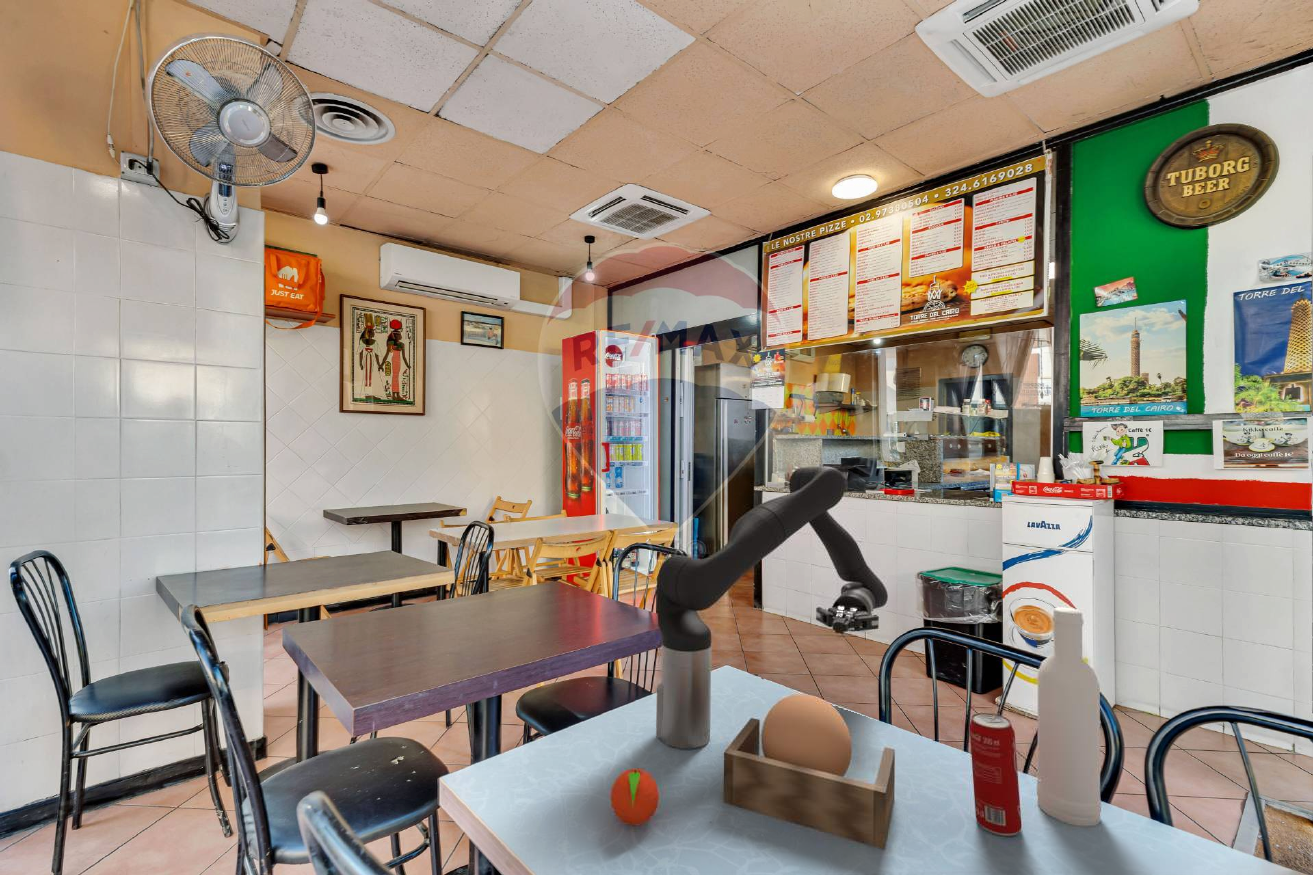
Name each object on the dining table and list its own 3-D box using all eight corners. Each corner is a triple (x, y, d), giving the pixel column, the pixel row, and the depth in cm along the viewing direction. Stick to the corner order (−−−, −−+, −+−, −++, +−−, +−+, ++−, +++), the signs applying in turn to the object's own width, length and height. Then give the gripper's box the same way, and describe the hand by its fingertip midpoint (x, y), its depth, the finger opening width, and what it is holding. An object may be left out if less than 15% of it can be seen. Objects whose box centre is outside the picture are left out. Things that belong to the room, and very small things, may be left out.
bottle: (1042, 819, 88) (1042, 613, 89) (1031, 791, 95) (1031, 601, 96) (1108, 833, 85) (1107, 619, 85) (1092, 803, 92) (1092, 606, 93)
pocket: (723, 802, 91) (723, 752, 91) (750, 762, 103) (751, 717, 103) (885, 849, 80) (885, 792, 81) (894, 798, 92) (894, 749, 93)
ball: (783, 768, 104) (760, 808, 91) (766, 685, 106) (742, 713, 93) (866, 768, 98) (854, 811, 86) (846, 680, 100) (832, 709, 88)
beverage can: (1028, 841, 83) (1028, 731, 83) (977, 834, 84) (977, 726, 84) (1011, 815, 89) (1011, 712, 89) (964, 809, 90) (964, 708, 90)
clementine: (658, 842, 81) (658, 788, 82) (607, 840, 81) (607, 787, 82) (658, 807, 89) (659, 758, 90) (612, 805, 89) (613, 757, 90)
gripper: (822, 587, 133) (804, 603, 118) (885, 595, 127) (876, 613, 112) (821, 622, 133) (804, 642, 118) (885, 631, 127) (875, 653, 112)
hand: (839, 627), depth 115 cm, fingers closed
